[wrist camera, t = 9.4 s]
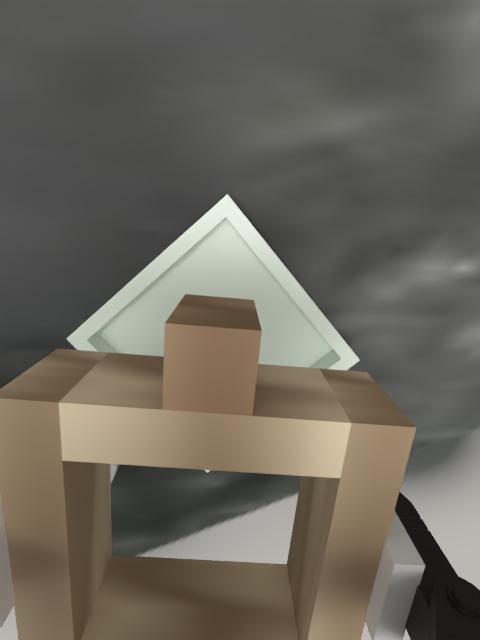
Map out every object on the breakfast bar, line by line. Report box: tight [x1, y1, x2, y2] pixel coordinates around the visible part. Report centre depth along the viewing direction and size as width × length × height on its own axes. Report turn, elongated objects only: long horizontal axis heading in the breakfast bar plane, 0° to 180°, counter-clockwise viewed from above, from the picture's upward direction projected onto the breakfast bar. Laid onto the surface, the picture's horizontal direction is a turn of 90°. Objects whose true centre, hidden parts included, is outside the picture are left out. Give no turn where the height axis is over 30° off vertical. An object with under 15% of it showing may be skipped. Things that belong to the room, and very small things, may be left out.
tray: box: [67, 194, 360, 473], centre depth 26 cm, size 15×15×2 cm
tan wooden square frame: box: [0, 294, 416, 640], centre depth 10 cm, size 10×12×3 cm
